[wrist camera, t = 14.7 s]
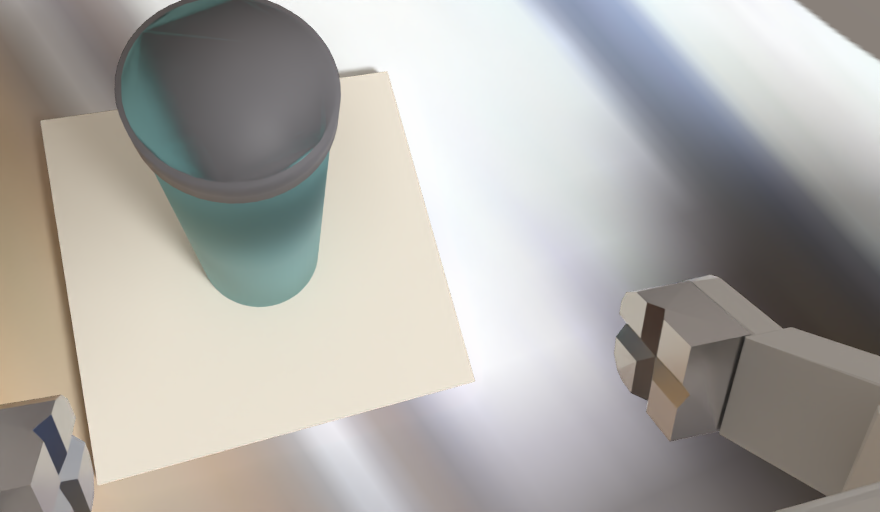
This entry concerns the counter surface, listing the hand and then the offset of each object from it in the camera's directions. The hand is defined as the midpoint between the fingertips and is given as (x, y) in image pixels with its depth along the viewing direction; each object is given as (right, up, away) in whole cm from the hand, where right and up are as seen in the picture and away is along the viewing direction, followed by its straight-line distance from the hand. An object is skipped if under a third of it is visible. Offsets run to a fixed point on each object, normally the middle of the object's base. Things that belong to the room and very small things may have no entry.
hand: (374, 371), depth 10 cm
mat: (-5, +2, +13) cm, 14 cm away
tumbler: (-5, +2, +13) cm, 14 cm away
